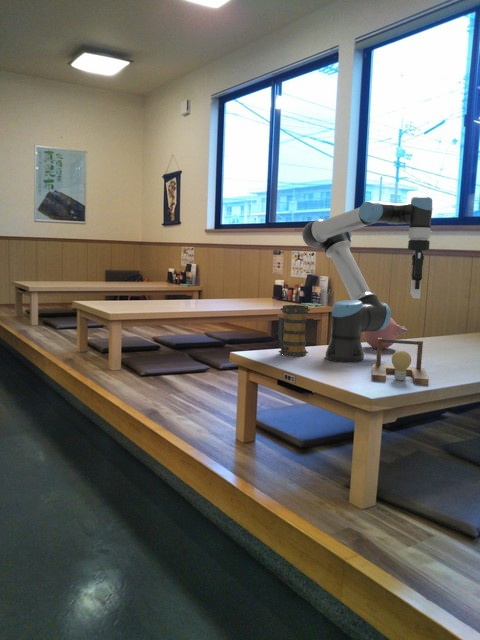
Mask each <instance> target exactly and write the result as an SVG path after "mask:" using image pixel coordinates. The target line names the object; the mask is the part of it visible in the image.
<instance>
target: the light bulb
mask: <svg viewBox="0 0 480 640" xmlns="http://www.w3.org/2000/svg"><path fill="white" fill-rule="evenodd" d="M391 363H392V366H394V367H395V369H396V370H395V374H394V377H393V378H394V379H395V380H397V381H405V380H406V379H407V375H406V369H407V368H408V367H411V363H412V356H411V355H410V354H409V352H408V351H405V350H397V351H395V352H394V353H393V354H392V356H391Z"/></svg>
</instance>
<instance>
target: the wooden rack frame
mask: <svg viewBox="0 0 480 640" xmlns="http://www.w3.org/2000/svg"><path fill="white" fill-rule="evenodd" d="M382 342H385V343H394V344H400V345H402V344H403V345H413V346H414V345H416V346H417V351H416V365H415V367H414V366H413V367H412V366H409V367H408V368H407V369H406V376H411V379H412V382H413V385H421V386H429V381H430V379H429V377H428V374H427V371H426V369H425V367H422V359H423V358H422V357H423V345H424V340H416V341H415V340H403V339H397V340H390V339H382V338H378V344H377V348H376V361H375V364H374V363H373V364H372V370H371V371H372V372H371V373H372V375H371V380H372V381H374V382H384V383H386V382H387V374H389V375H395V370H396V369H395V367H394V366H393V365H388V364H387V365H386V364H381V363H382V350H383V349H382Z"/></svg>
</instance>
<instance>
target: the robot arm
mask: <svg viewBox="0 0 480 640" xmlns="http://www.w3.org/2000/svg"><path fill="white" fill-rule="evenodd" d="M432 216H433V198H431V197H430V196H413V197H412V198H411V200H410V202H409V203H392V202H384V201H376V200H367V201H364V202H363V203H362V204H361V205H360V206H359V207H357V208H355V209H352V210H349V211H347V212H346V211H345V212H342V213H340V214H338V215H337V214H336V215H333V216H331V217H329V218H325V219H321V218H320V219H316V220H313V221H310V222H308V223H306V225H305V226H304V228H303V230H302V235H301V236H302V240H303V242H304V243H305V244H306V246H308V247H309V248H312V249H317V250H323V252H324V253H325V255H326V257H327V258H329V259H331V260H332V262H333V264H334V266H335V268H336V270H337V273H338V275H339V277H340V279H341V281H342V283H343V285H344V286H345V287H344V288H345V289H346V292H347V293H348V296H349V298H350V299H345V300H339V301H336V302H335V303H333V305H332V311H331V327H330V328H331V329H330V340H329V343H328V346H327V348H326V351H325V359H326V360H329V361H333V362H339V363H362V362H363V361H364V360H365V359H364V358H365V354H364V350H363V345H362V342H361V339H362V338H361V337H362V334H361V333H363V332H368V331H378V330H383V329H385V328H386V327H387V326H388V324H389V322H390V318H392V313H391V312H392V311H391V308H390V306H389V305H388V304H387V303H385V302H382V301H380V299H379V297H378V295H377V294H376V293H373V292H372V291H371V289H370V288H369V286H368V284H367V281H366V280H365V277H364V276H363V274H362V271H361V269H360V268H359V265H358V264H357V262H356V259H355V258H354V255H353V254H352V252H351V246H352V245H351V243H352V232H351V231H354V230H357V229H361V228H363V227H367V226H371V225H373V224H378V223H380V224H388V225H405V224H406V225H407V224H408V225H409V228H408V239H409V240H408V243H407V250H408V251H414V252H413V254H412V256H411V261H412V262H411V265H412V269H411V274H410V276H411V279H410V281H411V283H410V292H409V293H410V296H412V297H411V298H412V299H421V291H422V278H423V264H424V260H425V255H424V253H423V251H429V250H430V244H431V243H430V242H431V241H430V238H431V234H433V230H431V228H432V226H431V223H432Z"/></svg>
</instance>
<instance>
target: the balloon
mask: <svg viewBox="0 0 480 640" xmlns="http://www.w3.org/2000/svg"><path fill="white" fill-rule="evenodd" d="M408 332H409V329H407V328H406V326H404V325H402V326H400V325H399V324H397V322H396V321H395V320H394V319H393V318H392V317H391V318H390V322H389V324H388V326H387V327H386V328H385V329H383V330H378V331H368V332H362V334H363V335H362V336H363V338H364V340H365V342H366V343H367V344H368V346H370V347H372V348H375V349H377V344H378V338H382V339H390V340H398V337H399V336H401V335H402V336H403V335H404V334H405V333H408ZM394 344H395V343H385V342H382V350H383V349H387V348H389V347H392V346H393V345H394Z"/></svg>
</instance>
